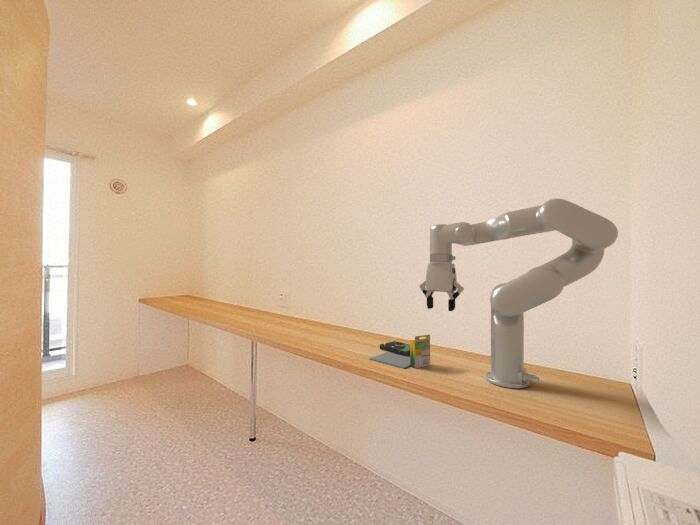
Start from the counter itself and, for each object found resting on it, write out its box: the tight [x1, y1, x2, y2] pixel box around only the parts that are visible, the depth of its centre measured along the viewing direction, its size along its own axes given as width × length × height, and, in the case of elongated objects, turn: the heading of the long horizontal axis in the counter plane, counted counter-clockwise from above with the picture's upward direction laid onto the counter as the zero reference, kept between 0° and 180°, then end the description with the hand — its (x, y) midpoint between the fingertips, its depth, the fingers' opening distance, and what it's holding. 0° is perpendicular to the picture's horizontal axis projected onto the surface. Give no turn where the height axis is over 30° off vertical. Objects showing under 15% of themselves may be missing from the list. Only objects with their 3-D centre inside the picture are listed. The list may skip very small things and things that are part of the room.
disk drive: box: [379, 340, 410, 357], centre depth 134 cm, size 10×3×15 cm
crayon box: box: [409, 334, 431, 369], centre depth 113 cm, size 7×3×12 cm, turn 117°
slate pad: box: [369, 351, 411, 370], centre depth 120 cm, size 16×12×1 cm
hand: (440, 309), depth 108 cm, fingers open, 7 cm apart
